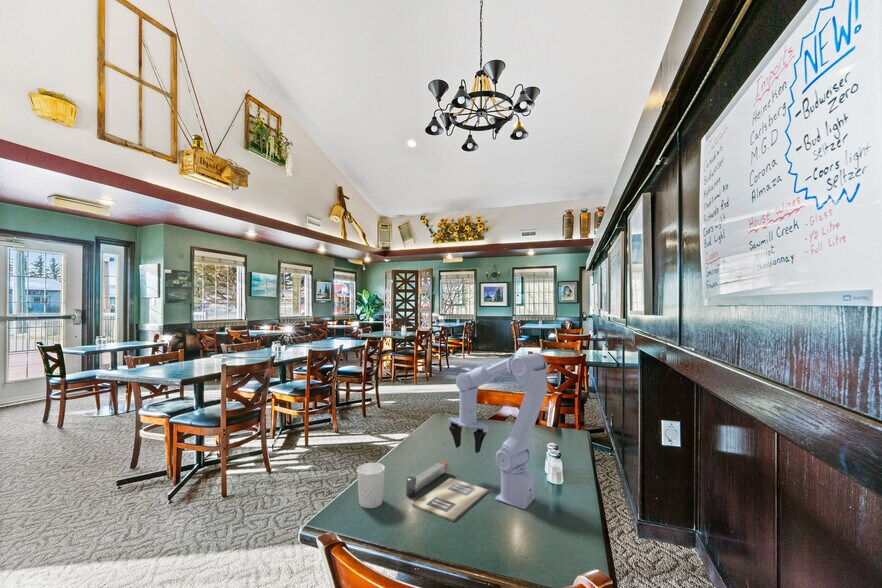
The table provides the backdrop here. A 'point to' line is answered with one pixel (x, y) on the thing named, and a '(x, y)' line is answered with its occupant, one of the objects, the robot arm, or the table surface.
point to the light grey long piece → (425, 478)
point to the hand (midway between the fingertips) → (467, 449)
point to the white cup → (370, 484)
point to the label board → (450, 499)
